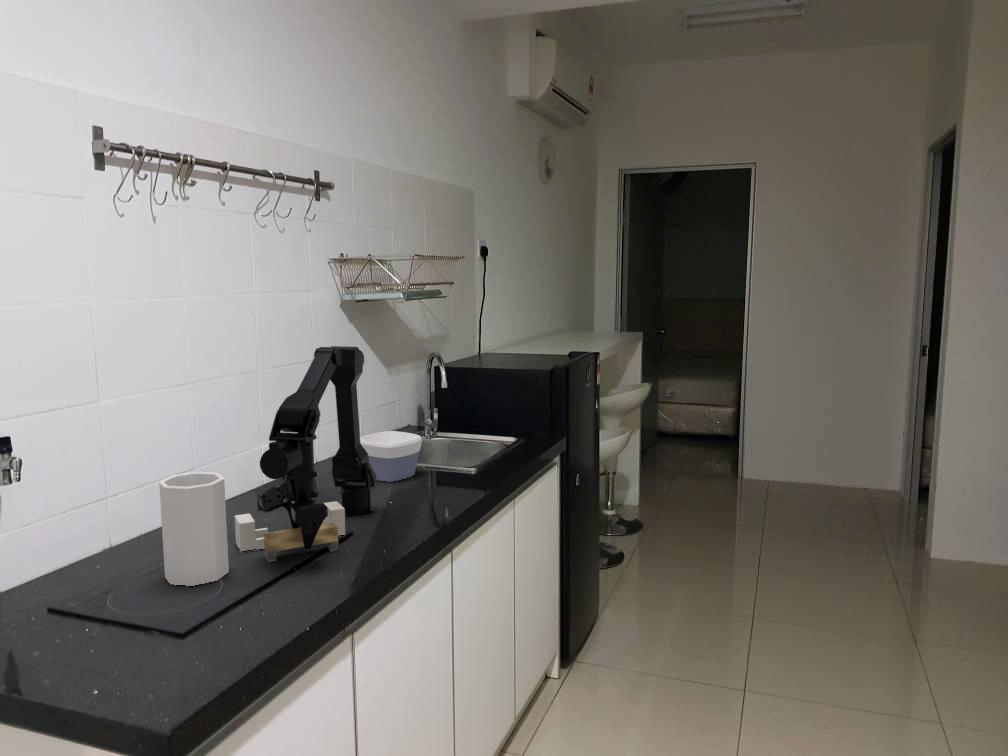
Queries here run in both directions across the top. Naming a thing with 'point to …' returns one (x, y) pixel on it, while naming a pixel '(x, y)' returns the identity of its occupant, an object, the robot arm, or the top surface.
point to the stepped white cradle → (255, 537)
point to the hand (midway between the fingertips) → (301, 541)
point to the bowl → (392, 454)
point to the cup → (194, 528)
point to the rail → (299, 539)
